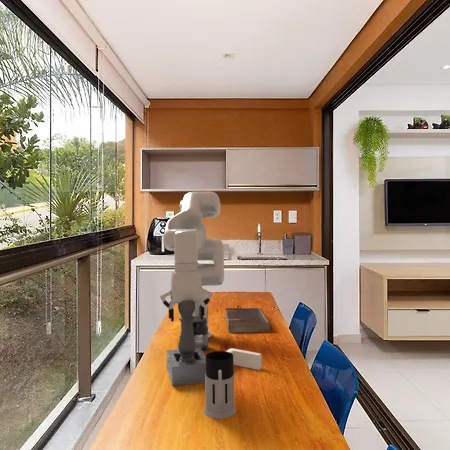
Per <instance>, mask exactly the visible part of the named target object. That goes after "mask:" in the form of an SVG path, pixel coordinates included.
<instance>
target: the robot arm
mask: <svg viewBox="0 0 450 450" xmlns="http://www.w3.org/2000/svg"><path fill="white" fill-rule="evenodd" d="M220 201H221V200H220V197H219V195H218V194H217V193H216V192H214V191H190V192H187V193H186V194H184V196H183V199H182V200H181V201H180V202H179V210H180V211H179V212H178V213H177V214H176V215H174V216H172V217H170V219H168V221H167V222H166V224H165V228H164V232H163V237H162V242H163V246H164V248H165V249H166V250H167V251H170V252H174V271H172V273H171V276H170V277H171V279H170V289H169V290H167V291H165V292H163V293H162V294H160V296H159V298H160V300H161V302H162V304H163V305H164V306H165V307H166V308H167V309H168V319H170V321H171V323H172V322H174V321H175V316H174V315H175V310H174V309H175V308H174V307H175V305H176V304H178V303H181V301H191V300H193V302H195V309H194V313H193V315H192V316H199V318H200V319H203V317H205V318H207V324H206V325H207V326H208V327H209V303H210V301H211V299H212V297H213V293H212V292H211V291H209V290H207V289H205V288H204V287H205V286H207V287H208V286H210V287H211V286H221V285H222V284H223V283H224V281H225V251H224V250H225V248H224V244H223V241H222V240H221V239H219V238H207V227H206V224H205V223H204V222H203V219H216V218H218V217H219V216H220V214H221V210H222V209H221V202H220ZM198 261H212V262H213V263H199V262H198ZM169 296H170V301H169V302H168V301H167V300H166V298H167V297H169ZM212 336H213V333H212V331H210V330H208V339H210V338H211V337H212Z"/></svg>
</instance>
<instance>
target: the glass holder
mask: <svg viewBox="0 0 450 450" xmlns="http://www.w3.org/2000/svg"><path fill="white" fill-rule="evenodd" d="M226 351H227V350H216V351H215V350H214V351H210V352H208V353H206V354H205V358H206V371H205V383H204V393H205V394H204V395H205V396H204V397H205V398H204V399H205V400H204V401H205V402H204V403H205V404H204V409H203V413H204V415H205V416H207V417H208V418H212V419H217V420H221V419H227V418H231V417H233V416H234V415H235V414H236V413H237V409H236V406H235V370H234V365H233V354H232V353H230V352H226Z"/></svg>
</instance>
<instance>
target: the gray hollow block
mask: <svg viewBox="0 0 450 450" xmlns="http://www.w3.org/2000/svg"><path fill="white" fill-rule="evenodd" d="M204 352H205V351H202V349H201V347H200V348H196V350H195V352H194V355H193V356H194V358H195V359H196V360H191V361H180V362H179V359H180V357H181V355H180V354H181V353H180V352H179V350H178V349H170V350H166V370H167V373H168V377H169V380H170V384H171V386H172V387H177V386H185V385H187V386H188V385H193V384H194V385H195V384H205V371H206V358H205V356H206V354H205V353H204Z"/></svg>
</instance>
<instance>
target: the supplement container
mask: <svg viewBox="0 0 450 450" xmlns="http://www.w3.org/2000/svg"><path fill="white" fill-rule="evenodd" d="M194 317H195V319H194V320H193V334H194V338H195V342H196V348H200V347H201V349H202V351H203V352H205V351H206V350H208V348H209V338H208V331H209V325H208V326H207V325H206V324H207V318H205V317H203V319H200V318H199V316H194Z"/></svg>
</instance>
